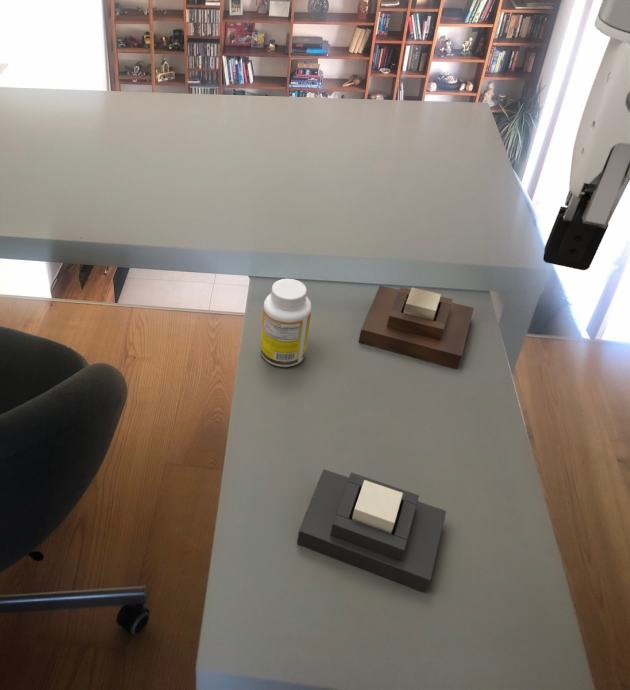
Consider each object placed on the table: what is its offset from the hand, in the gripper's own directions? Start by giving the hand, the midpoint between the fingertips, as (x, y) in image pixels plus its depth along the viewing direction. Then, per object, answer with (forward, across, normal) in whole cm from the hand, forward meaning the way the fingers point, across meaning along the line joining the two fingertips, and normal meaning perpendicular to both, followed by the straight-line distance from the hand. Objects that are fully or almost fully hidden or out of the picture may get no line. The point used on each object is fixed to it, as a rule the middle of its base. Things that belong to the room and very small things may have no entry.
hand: (565, 260), depth 53 cm
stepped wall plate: (+27, -11, +8) cm, 30 cm away
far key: (+23, +21, +10) cm, 33 cm away
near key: (+24, -11, +8) cm, 27 cm away
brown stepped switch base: (+27, +21, +10) cm, 36 cm away
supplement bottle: (+27, +10, +24) cm, 38 cm away
